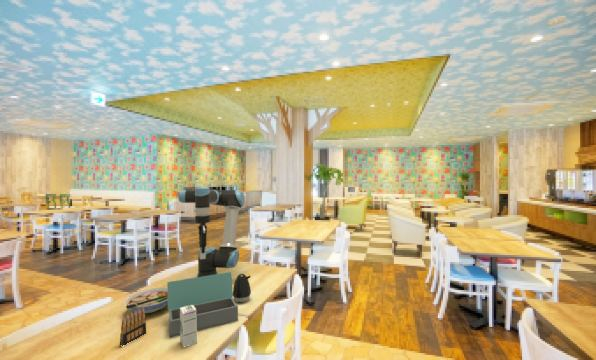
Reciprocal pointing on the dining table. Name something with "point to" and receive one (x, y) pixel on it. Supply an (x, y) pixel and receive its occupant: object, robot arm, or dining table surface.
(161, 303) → the ramen bowl
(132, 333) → the ammunition clip
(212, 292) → the cover
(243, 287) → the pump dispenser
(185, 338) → the syrup box
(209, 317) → the gray open box
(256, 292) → the dining table surface
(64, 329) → the dining table surface
